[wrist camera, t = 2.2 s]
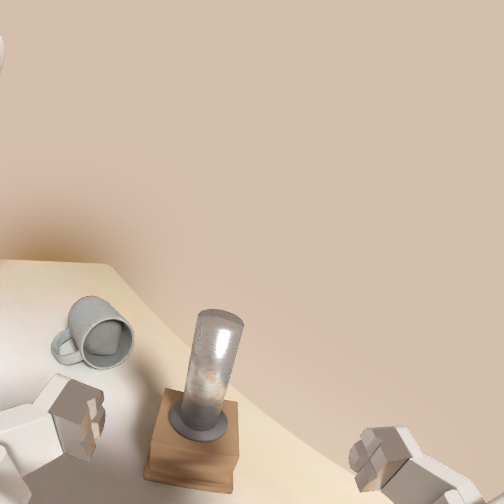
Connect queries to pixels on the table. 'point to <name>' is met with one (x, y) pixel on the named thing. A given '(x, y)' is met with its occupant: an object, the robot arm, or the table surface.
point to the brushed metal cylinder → (210, 367)
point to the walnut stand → (193, 448)
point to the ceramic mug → (95, 335)
